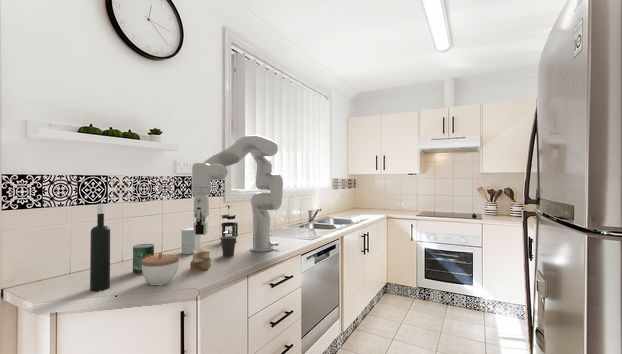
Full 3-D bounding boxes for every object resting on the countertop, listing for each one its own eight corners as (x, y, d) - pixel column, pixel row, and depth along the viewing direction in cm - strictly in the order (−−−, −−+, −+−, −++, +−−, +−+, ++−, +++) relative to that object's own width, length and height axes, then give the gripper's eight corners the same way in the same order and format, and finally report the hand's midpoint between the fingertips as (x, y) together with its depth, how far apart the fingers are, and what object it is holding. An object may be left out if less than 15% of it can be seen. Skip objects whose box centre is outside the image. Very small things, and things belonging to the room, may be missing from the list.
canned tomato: (134, 270, 130) (134, 244, 130) (154, 268, 133) (154, 242, 133) (131, 275, 123) (131, 248, 123) (153, 273, 126) (153, 246, 126)
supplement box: (201, 251, 165) (201, 227, 165) (194, 254, 158) (194, 230, 158) (188, 250, 166) (188, 227, 166) (180, 254, 158) (181, 229, 158)
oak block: (206, 257, 136) (206, 248, 136) (209, 260, 131) (209, 251, 131) (192, 259, 133) (192, 250, 134) (194, 262, 128) (194, 252, 128)
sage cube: (207, 232, 135) (207, 221, 135) (205, 234, 130) (205, 222, 130) (195, 233, 134) (195, 221, 134) (193, 234, 129) (193, 223, 129)
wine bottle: (87, 289, 107) (87, 204, 107) (105, 284, 112) (105, 203, 112) (94, 292, 104) (95, 204, 104) (113, 287, 109) (113, 203, 109)
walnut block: (210, 266, 136) (210, 257, 136) (207, 271, 129) (207, 261, 129) (194, 267, 135) (194, 258, 135) (190, 271, 128) (190, 262, 128)
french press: (226, 245, 180) (226, 206, 180) (216, 243, 186) (216, 205, 186) (241, 241, 190) (241, 205, 190) (231, 240, 195) (232, 204, 195)
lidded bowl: (176, 286, 110) (176, 255, 110) (137, 290, 106) (137, 258, 106) (180, 276, 122) (180, 248, 122) (145, 278, 118) (145, 250, 119)
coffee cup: (216, 255, 154) (217, 236, 155) (230, 253, 160) (231, 234, 160) (225, 258, 149) (225, 238, 149) (239, 255, 155) (239, 236, 155)
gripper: (207, 192, 125) (206, 236, 125) (212, 190, 142) (212, 229, 141) (188, 192, 123) (187, 236, 123) (195, 190, 140) (195, 230, 140)
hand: (200, 232), depth 132 cm, fingers closed on sage cube, 5 cm apart
